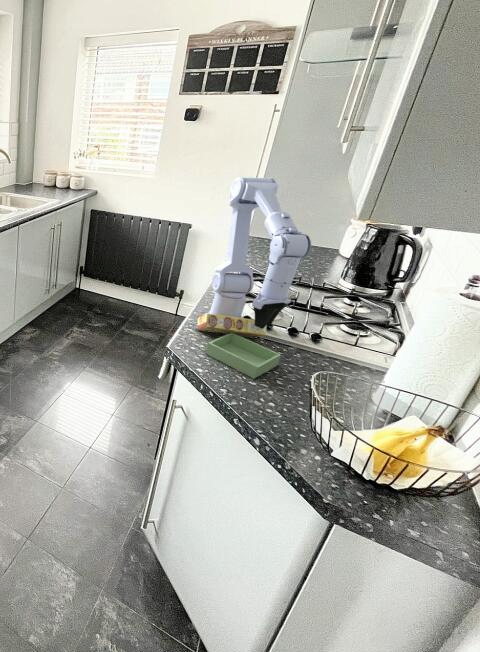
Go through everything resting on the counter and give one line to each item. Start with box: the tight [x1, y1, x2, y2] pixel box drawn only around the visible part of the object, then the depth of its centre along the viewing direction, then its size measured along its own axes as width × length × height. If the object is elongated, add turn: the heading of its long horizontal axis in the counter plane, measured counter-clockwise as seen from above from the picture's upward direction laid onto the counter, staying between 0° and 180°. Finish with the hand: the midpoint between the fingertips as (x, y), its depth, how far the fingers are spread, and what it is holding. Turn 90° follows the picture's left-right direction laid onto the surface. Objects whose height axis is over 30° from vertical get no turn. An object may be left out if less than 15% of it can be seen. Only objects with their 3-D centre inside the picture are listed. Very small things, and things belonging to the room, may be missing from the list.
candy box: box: [197, 313, 268, 339], centre depth 123 cm, size 9×4×15 cm
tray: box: [204, 332, 282, 379], centre depth 114 cm, size 11×13×4 cm
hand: (262, 325), depth 113 cm, fingers closed
